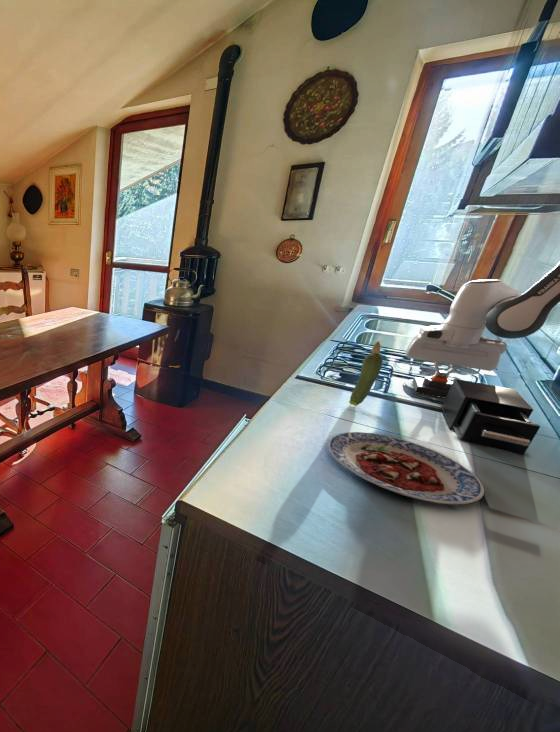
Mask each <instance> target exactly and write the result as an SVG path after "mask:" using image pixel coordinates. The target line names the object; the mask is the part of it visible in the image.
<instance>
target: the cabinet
mask: <svg viewBox="0 0 560 732" xmlns="http://www.w3.org/2000/svg"><path fill="white" fill-rule="evenodd" d="M452 382H453V384H452V386H451V388H450V390H449V393H448V395H447V397H446V398H444V402H443V403H442V404H441V405H442V406H441V408H440V411H441V413H442V416H443V419H444V420H445V423H446V425H447V427H448V429H449V430H450V431H452V432H453V431H454V432H456V429H455V428H454V427H456V426H458V425H457V423H458V421H459V419H460V417H461V414H462V412H463V410H464V408H465V406H466V404H467V402H468V400H469V401H474V402H479V403H484V404H490V405H495V406H500V407H505V408H511V409H516V410H521V411H522V412H523V413H524V414H525V415H526V416H527V418H528V419H530V416H531V415H532V413H533V411H534V409H533V407H532V406H531V405H530V404H529V402H527V401H526V399H525V398H524V397H523V396H522V395H521V394H520V393H519V392H518V390H516V389H515V388H510V387H504V386H498V385H493V384H487V383H481V382H476V381H470V380H463V379H457V378H455V379H453V381H452Z"/></svg>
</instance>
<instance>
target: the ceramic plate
mask: <svg viewBox="0 0 560 732" xmlns="http://www.w3.org/2000/svg"><path fill="white" fill-rule="evenodd" d="M328 450H329V452H330V454H331V456H333V458H334V459H335V460H336V461H337V462H338V463H339V464H340V465H342V466H343V467H344V468H346V469H347V470H349V472H350V471H351V473H353V474H354V475H356V476H358V477H359V478H362V479H363V480H366V481H367V482H369V483H372V484H374V485H375V486H378V487H380V488H382V489H385V490H387V491H391V492H394V493H396V494H399V495H402V496H406V497H409V498H413V499H416V500H420V501H426V502H430V503H436V504H443V505H444V504H445V505H466V504H471V503H475V502H478V501H479V500H480V499H482V498H483V496H484V495H485V488H484V487H485V486H484V485H483V483H482V482H481V480H480V479H479V477H477V475H475V474H474V473H473V472H472V471H471V470H469V469H468V468H466V466H464V465H462V464H461V463H459V462H458V461H456V460H454V459H452V458H450V457H449V456H447V455H444V454H443V453H441V452H438V451H436V450H433V449H431V448H429V447H427V446H424V445H421V444H418V443H415V442H412V441H409V440H406V439H402V438H399V437H395V436H390V435H385V434H381V433H375V432H363V431H348V432H347V431H346V432H342V433H338V434H336V435H333V436H332V437H331V438H330V439H329V441H328Z"/></svg>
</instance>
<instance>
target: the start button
mask: <svg viewBox="0 0 560 732" xmlns="http://www.w3.org/2000/svg"><path fill="white" fill-rule="evenodd" d="M434 375H435V374H433V375H431V376H432V380H434V381H437V382H443V383H447V381H448V380H449V377H448V378H442V377H436V376H434Z"/></svg>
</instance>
